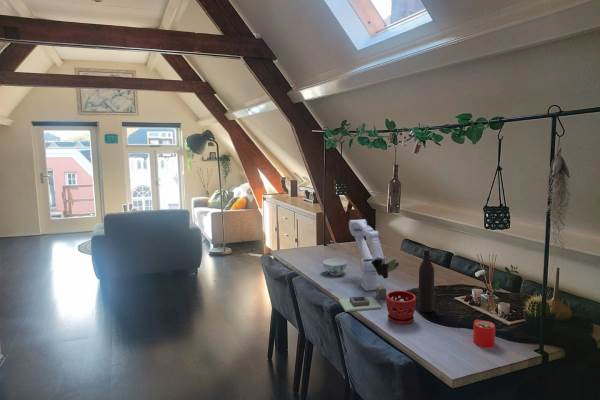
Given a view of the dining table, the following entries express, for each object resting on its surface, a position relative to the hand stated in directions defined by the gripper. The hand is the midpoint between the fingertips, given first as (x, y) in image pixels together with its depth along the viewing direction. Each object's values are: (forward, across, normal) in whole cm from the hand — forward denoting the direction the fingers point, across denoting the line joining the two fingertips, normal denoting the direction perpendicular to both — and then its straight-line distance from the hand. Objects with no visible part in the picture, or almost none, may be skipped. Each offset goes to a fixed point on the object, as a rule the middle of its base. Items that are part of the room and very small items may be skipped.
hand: (383, 276), depth 213 cm
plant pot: (+26, -10, -6) cm, 28 cm away
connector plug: (+8, +9, +7) cm, 14 cm away
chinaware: (-21, +29, +38) cm, 52 cm away
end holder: (+12, -4, +15) cm, 19 cm away
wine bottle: (+21, +5, -15) cm, 26 cm away
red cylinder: (+42, -11, -36) cm, 57 cm away
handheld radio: (-20, +50, +10) cm, 55 cm away
